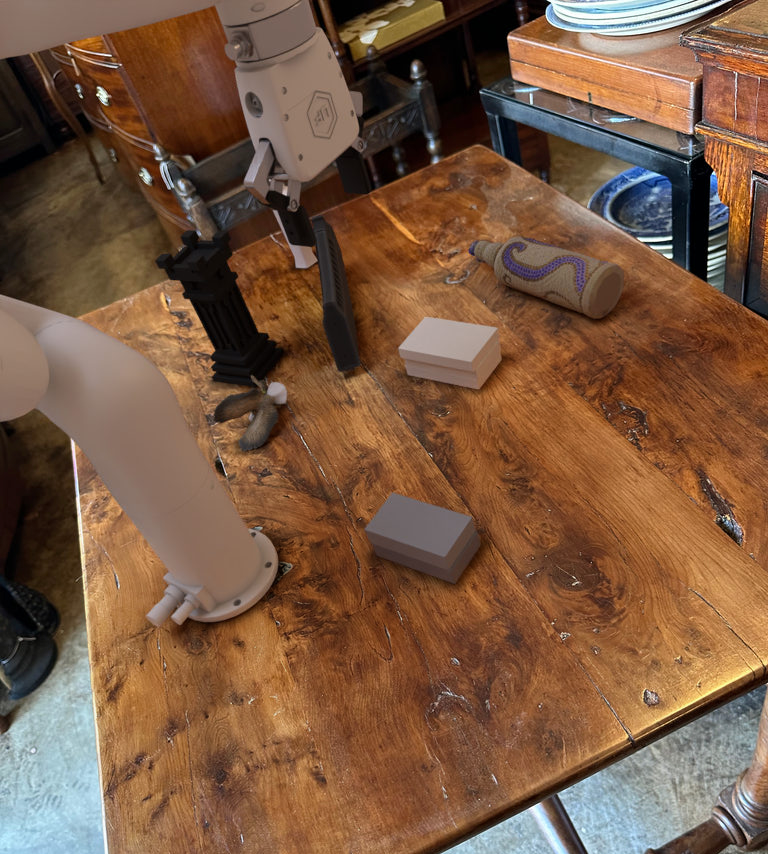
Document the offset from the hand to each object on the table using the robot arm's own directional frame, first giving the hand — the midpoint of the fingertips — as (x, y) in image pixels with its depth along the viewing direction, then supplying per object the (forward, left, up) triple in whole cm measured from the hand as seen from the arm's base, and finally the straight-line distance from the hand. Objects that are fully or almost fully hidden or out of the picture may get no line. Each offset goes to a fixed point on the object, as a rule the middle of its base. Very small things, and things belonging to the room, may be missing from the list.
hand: (332, 217), depth 79 cm
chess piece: (+4, +30, -28) cm, 42 cm away
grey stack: (-16, -14, -28) cm, 35 cm away
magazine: (+18, +22, -28) cm, 40 cm away
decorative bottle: (+31, -5, -28) cm, 43 cm away
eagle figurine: (-6, +19, -28) cm, 35 cm away
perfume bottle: (+30, +39, -28) cm, 57 cm away
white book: (+12, -1, -25) cm, 28 cm away
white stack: (+12, -1, -28) cm, 31 cm away
